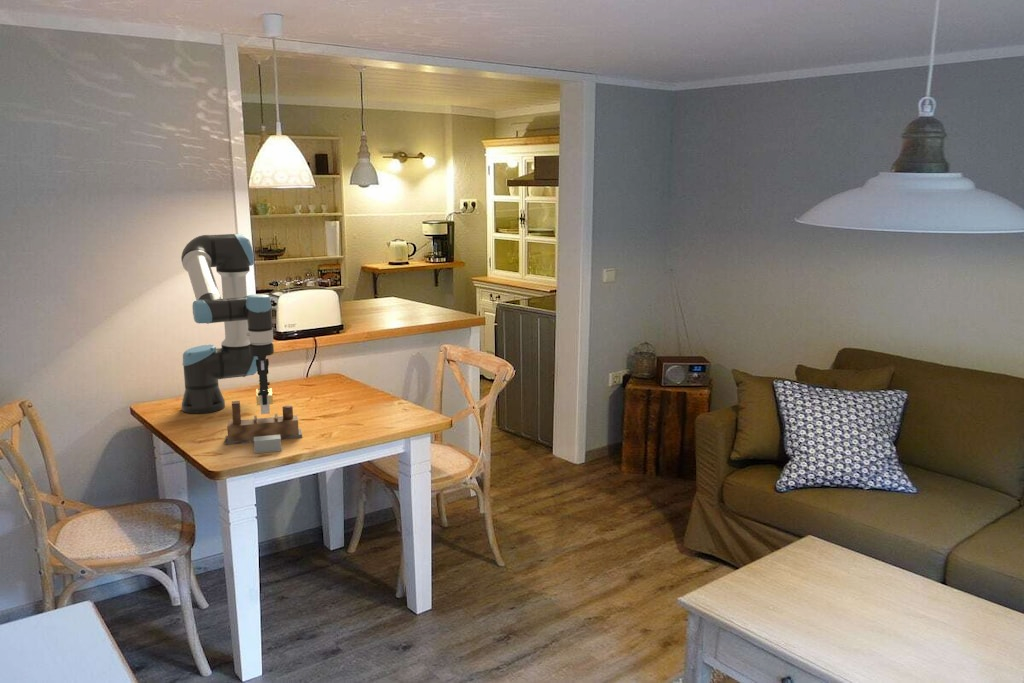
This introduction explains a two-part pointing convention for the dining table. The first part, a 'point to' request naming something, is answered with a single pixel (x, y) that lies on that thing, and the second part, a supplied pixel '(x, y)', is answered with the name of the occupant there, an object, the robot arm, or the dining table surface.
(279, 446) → the block
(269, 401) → the lever cap
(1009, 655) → the dining table surface
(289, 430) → the plane body
